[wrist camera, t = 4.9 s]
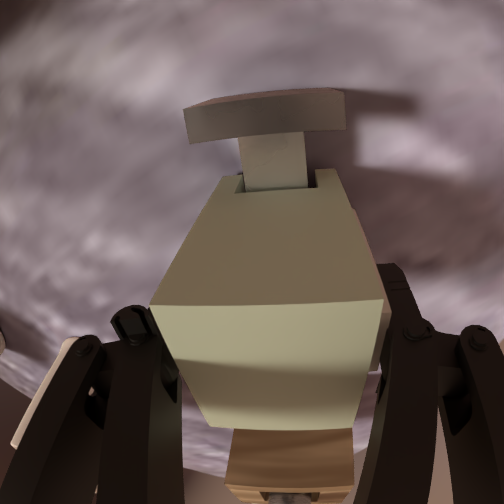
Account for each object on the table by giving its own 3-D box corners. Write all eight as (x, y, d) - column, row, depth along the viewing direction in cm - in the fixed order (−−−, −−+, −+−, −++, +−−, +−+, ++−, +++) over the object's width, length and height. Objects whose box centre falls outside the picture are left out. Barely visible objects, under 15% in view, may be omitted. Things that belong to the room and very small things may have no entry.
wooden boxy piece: (243, 376, 23) (224, 483, 15) (350, 373, 21) (357, 484, 14) (254, 416, 26) (242, 502, 19) (341, 414, 25) (343, 502, 17)
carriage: (222, 176, 14) (148, 305, 7) (335, 168, 13) (383, 299, 6) (242, 282, 17) (209, 426, 10) (335, 278, 16) (352, 427, 9)
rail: (212, 98, 12) (183, 109, 9) (328, 87, 11) (343, 92, 8) (262, 376, 22) (256, 421, 19) (328, 375, 21) (329, 421, 18)
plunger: (260, 450, 18) (248, 539, 12) (324, 450, 17) (320, 541, 11) (266, 467, 20) (256, 542, 15) (320, 467, 20) (317, 543, 14)
